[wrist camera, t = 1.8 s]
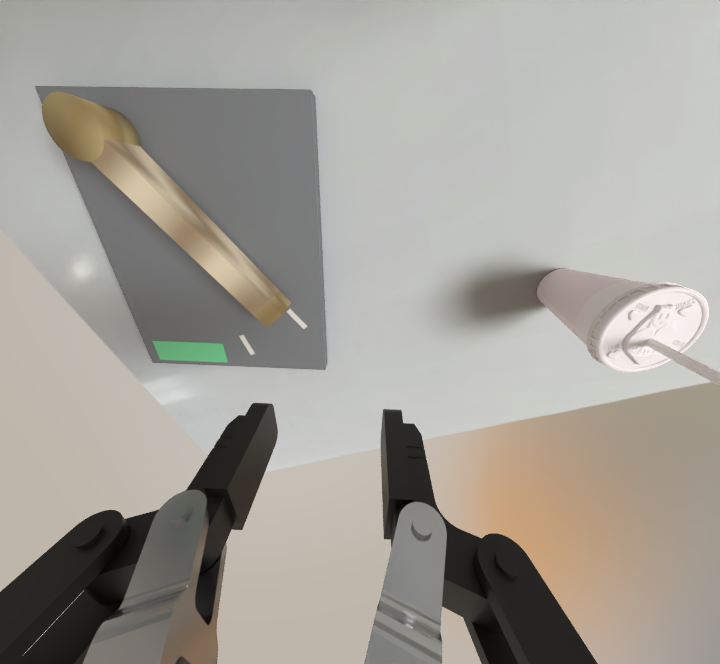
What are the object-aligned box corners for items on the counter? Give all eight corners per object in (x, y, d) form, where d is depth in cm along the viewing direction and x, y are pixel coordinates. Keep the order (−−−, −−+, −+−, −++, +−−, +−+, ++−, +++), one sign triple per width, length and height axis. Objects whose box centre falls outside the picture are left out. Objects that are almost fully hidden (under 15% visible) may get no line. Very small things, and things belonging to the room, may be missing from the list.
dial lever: (82, 133, 20) (33, 123, 17) (104, 94, 18) (55, 75, 16) (272, 318, 26) (260, 333, 23) (297, 297, 25) (287, 310, 22)
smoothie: (517, 319, 27) (639, 423, 15) (528, 257, 24) (694, 322, 12) (582, 314, 26) (767, 418, 14) (602, 250, 24) (859, 310, 11)
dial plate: (57, 93, 20) (33, 85, 18) (315, 97, 19) (310, 89, 18) (162, 355, 31) (152, 363, 30) (327, 362, 31) (325, 370, 29)
